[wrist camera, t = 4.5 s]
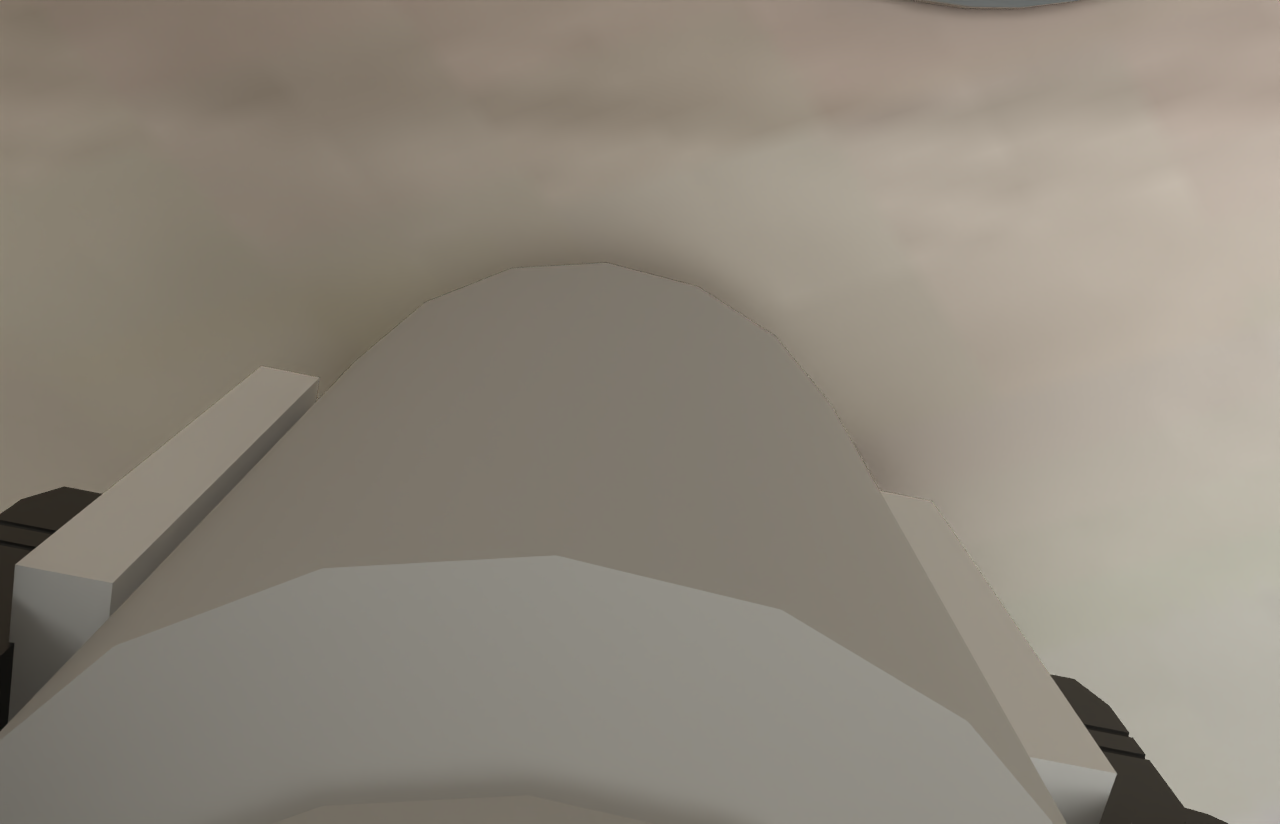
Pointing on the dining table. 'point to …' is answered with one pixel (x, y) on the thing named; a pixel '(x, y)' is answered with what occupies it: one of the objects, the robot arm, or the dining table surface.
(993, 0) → the saucer
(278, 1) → the dining table surface
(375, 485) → the can
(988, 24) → the dining table surface
